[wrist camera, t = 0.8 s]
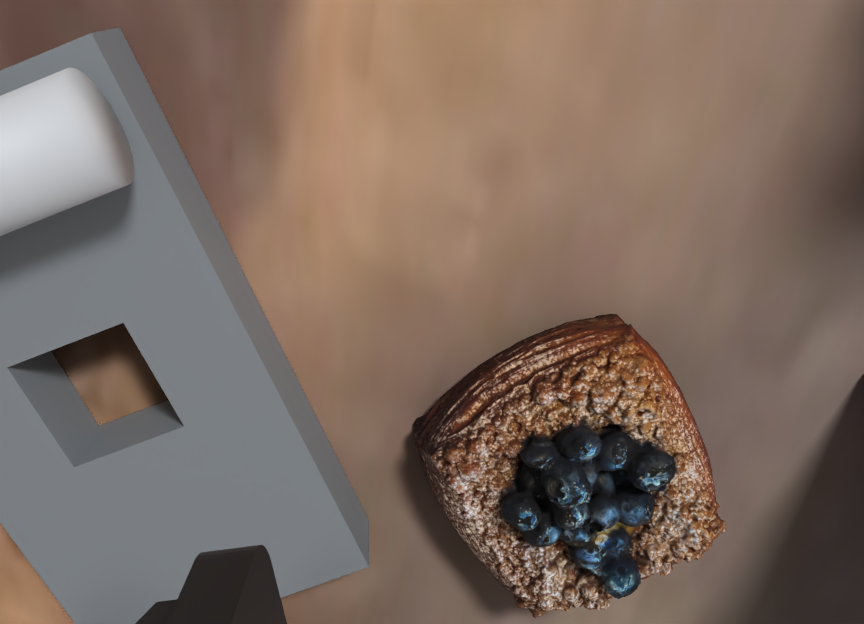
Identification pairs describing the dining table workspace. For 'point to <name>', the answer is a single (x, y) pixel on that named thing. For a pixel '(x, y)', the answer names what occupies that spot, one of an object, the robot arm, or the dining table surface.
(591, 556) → the pastry
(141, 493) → the hinge plate
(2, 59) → the dining table surface
